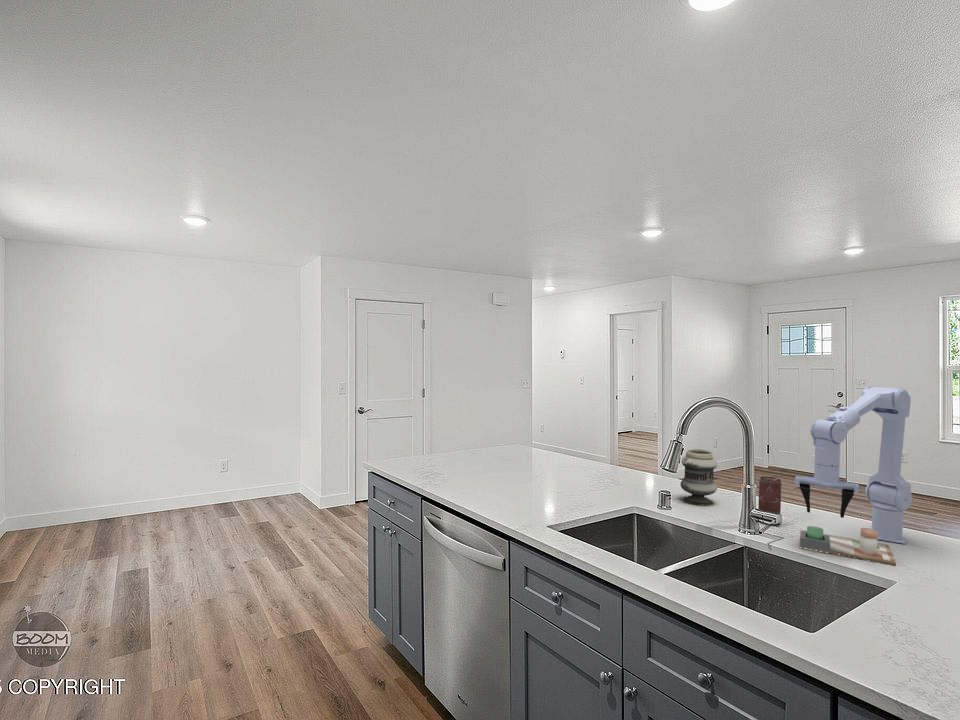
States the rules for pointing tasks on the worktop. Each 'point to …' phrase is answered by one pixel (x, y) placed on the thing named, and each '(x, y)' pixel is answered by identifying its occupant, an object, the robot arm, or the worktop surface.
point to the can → (770, 494)
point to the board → (858, 550)
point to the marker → (868, 541)
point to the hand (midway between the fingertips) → (825, 514)
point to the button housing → (815, 542)
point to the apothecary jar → (699, 476)
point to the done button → (815, 532)
